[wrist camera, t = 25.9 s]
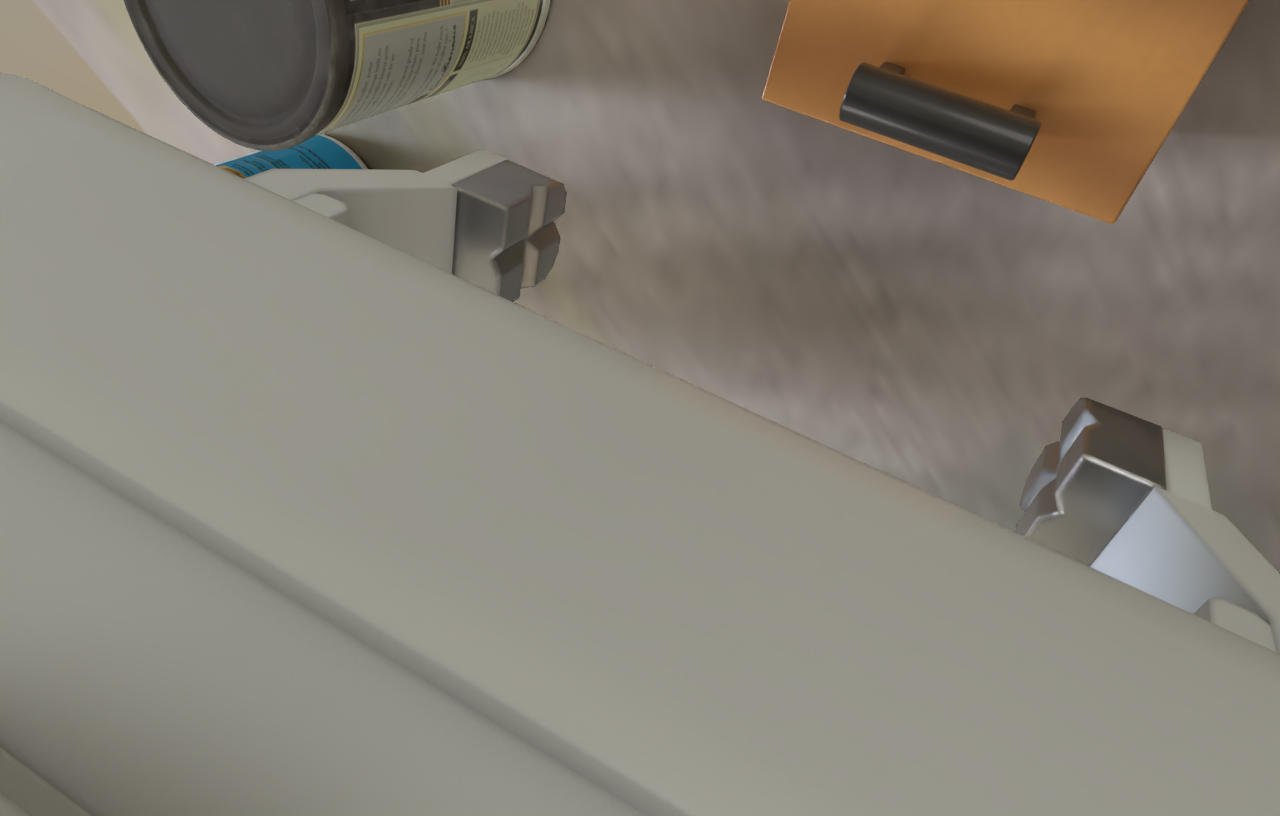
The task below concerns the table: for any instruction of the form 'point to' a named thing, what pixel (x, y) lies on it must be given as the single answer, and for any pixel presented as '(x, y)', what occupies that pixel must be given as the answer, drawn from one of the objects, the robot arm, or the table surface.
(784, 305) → the table surface
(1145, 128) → the lid
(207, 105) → the coffee can
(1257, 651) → the robot arm
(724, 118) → the table surface
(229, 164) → the beverage bottle
